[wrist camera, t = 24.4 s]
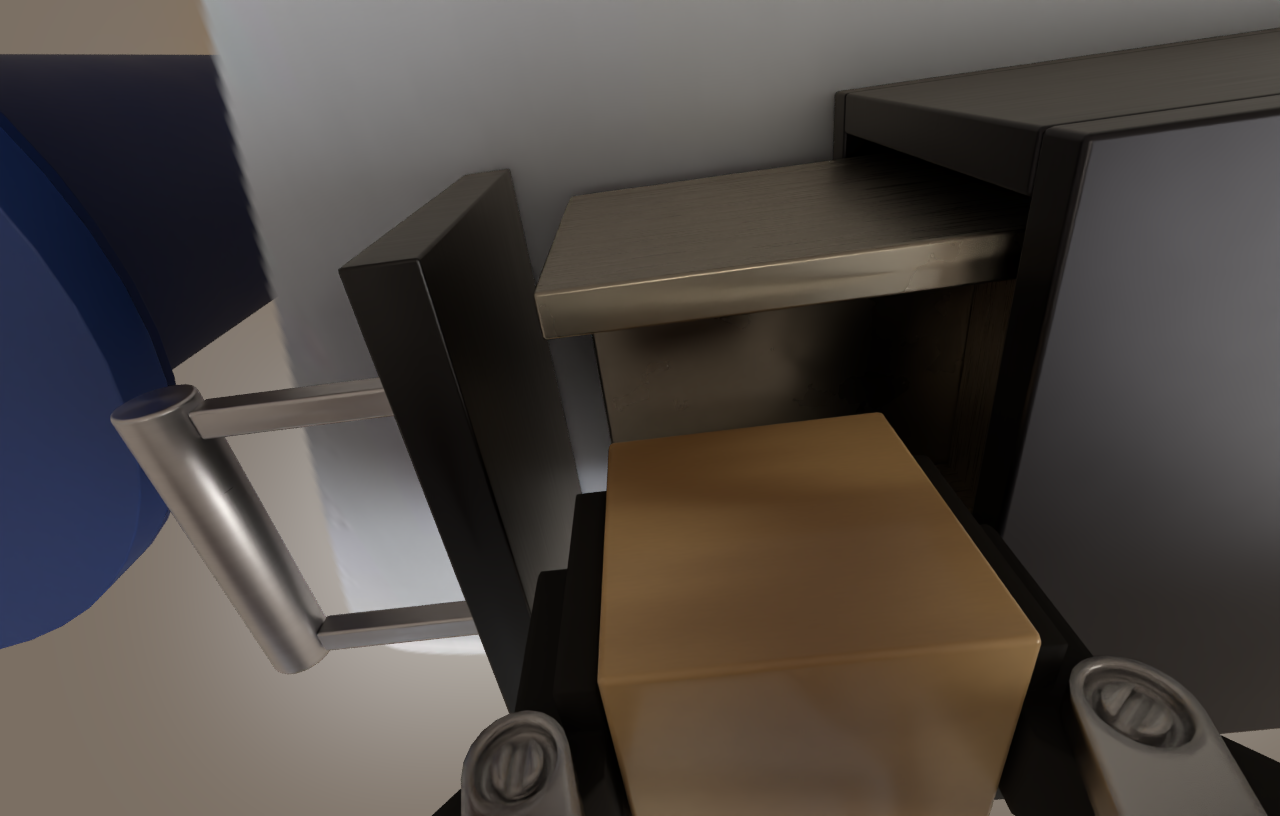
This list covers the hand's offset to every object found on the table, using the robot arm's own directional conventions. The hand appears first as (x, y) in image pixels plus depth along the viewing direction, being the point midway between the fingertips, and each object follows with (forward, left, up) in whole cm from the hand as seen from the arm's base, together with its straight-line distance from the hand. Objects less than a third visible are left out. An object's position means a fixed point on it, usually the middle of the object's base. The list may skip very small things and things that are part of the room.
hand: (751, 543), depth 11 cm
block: (0, 0, 0) cm, 0 cm away
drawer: (-2, 0, -8) cm, 8 cm away
